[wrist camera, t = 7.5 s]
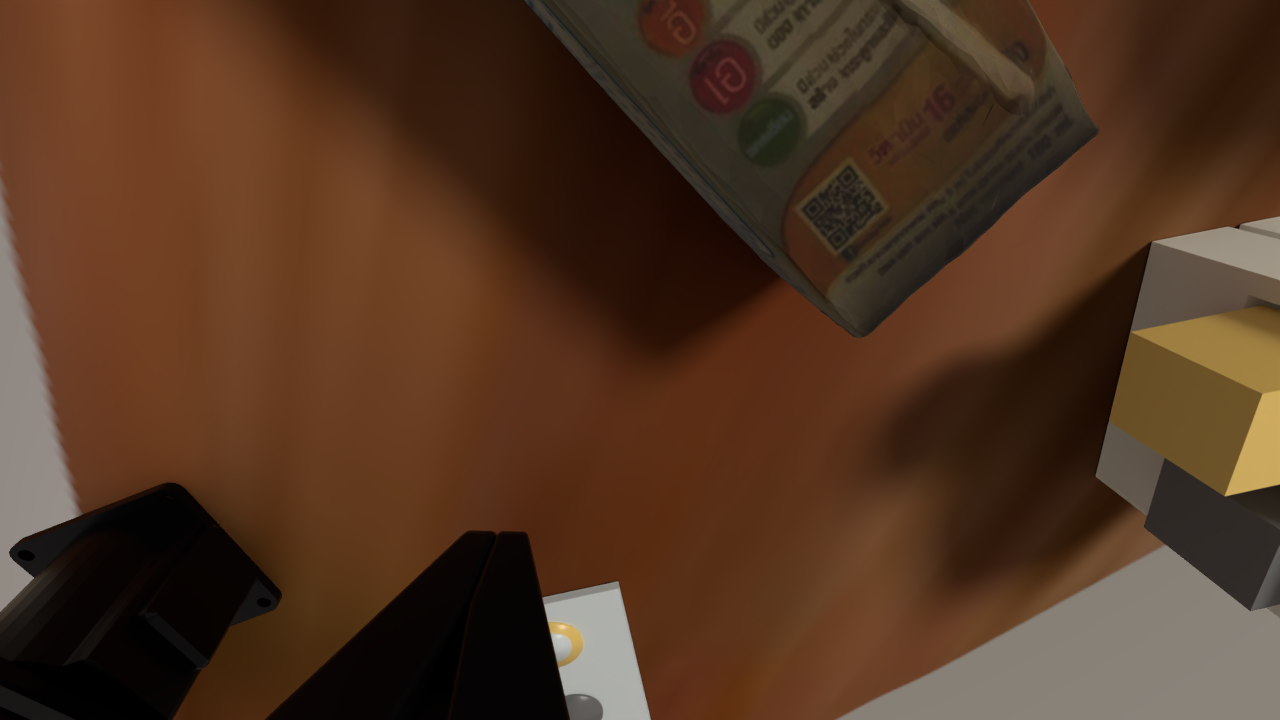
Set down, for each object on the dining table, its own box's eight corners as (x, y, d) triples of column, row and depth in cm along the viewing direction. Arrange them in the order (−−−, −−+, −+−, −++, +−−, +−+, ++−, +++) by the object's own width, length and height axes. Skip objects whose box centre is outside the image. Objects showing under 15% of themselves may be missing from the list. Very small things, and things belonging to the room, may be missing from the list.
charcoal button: (1143, 527, 23) (1250, 611, 20) (1164, 455, 22) (1285, 533, 18) (1253, 503, 24) (1378, 582, 20) (1281, 430, 22) (1422, 502, 18)
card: (515, 750, 31) (514, 764, 30) (458, 615, 26) (456, 627, 26) (650, 720, 31) (652, 732, 30) (618, 581, 26) (619, 592, 26)
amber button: (1108, 421, 21) (1224, 496, 17) (1130, 331, 19) (1262, 393, 16) (1232, 395, 21) (1371, 464, 17) (1263, 304, 19) (1423, 360, 16)
